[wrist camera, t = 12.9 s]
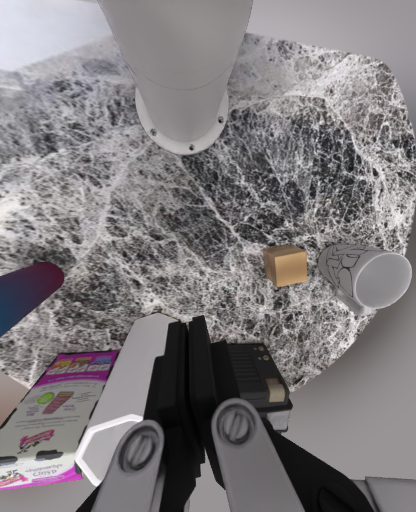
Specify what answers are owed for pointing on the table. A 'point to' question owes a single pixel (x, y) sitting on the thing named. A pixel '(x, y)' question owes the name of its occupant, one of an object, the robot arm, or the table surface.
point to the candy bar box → (53, 421)
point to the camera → (261, 384)
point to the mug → (365, 275)
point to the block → (285, 265)
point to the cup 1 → (26, 291)
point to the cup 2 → (122, 395)
